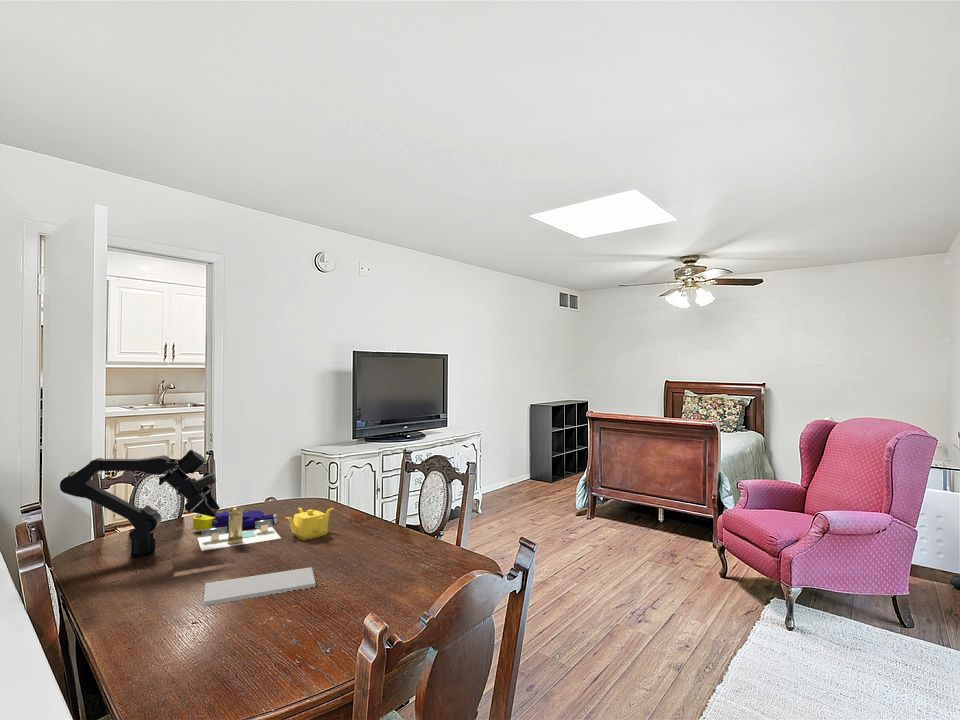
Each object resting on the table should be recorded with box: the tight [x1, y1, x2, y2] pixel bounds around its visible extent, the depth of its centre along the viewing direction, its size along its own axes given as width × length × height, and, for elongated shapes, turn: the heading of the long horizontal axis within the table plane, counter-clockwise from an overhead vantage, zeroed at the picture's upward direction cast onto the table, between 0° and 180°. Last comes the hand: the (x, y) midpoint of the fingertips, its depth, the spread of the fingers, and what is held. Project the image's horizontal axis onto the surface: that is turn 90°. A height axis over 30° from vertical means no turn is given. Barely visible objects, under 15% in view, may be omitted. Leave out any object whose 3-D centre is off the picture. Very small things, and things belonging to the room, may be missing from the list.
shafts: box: [201, 519, 274, 542], centre depth 191 cm, size 24×6×4 cm, turn 123°
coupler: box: [227, 506, 245, 544], centre depth 184 cm, size 5×5×12 cm
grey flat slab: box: [203, 566, 317, 607], centre depth 149 cm, size 29×12×4 cm, turn 117°
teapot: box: [284, 507, 334, 541], centre depth 197 cm, size 15×14×10 cm
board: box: [197, 526, 282, 552], centre depth 188 cm, size 26×16×1 cm, turn 123°
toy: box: [192, 509, 278, 531], centre depth 202 cm, size 12×7×30 cm
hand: (217, 512), depth 182 cm, fingers open, 9 cm apart
